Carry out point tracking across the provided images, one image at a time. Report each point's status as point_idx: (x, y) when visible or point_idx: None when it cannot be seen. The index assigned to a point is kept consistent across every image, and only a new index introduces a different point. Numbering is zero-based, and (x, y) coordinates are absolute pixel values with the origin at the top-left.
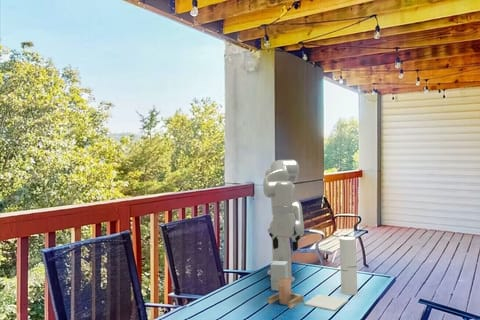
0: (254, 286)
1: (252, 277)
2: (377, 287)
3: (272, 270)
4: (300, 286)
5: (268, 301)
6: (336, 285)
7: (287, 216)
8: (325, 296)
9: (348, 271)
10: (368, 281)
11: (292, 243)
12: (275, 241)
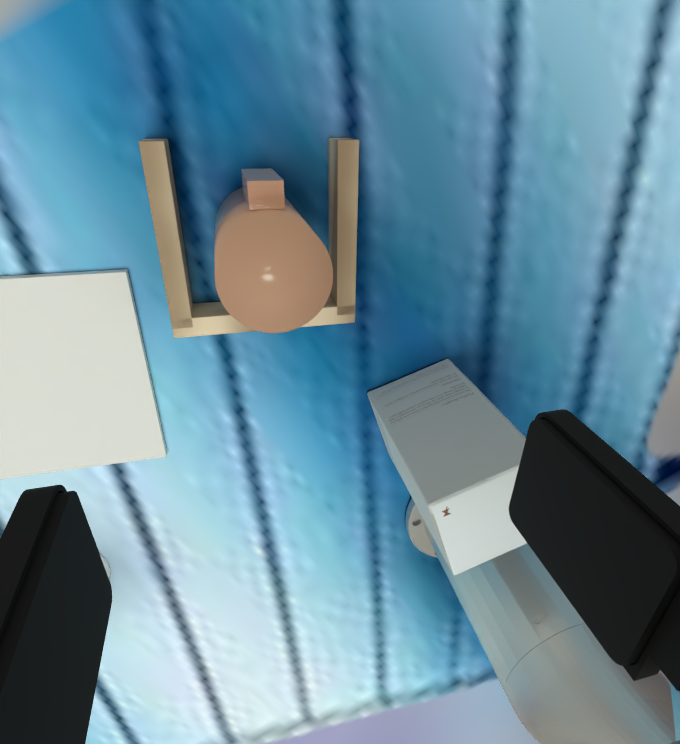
0: (562, 353)
1: (619, 449)
2: None
3: (501, 431)
4: (339, 494)
5: (348, 138)
6: (191, 602)
7: None
8: (105, 449)
9: None
10: (103, 711)
11: (2, 669)
12: (634, 557)
